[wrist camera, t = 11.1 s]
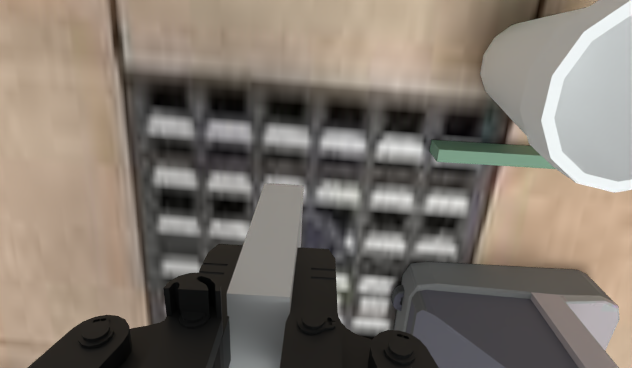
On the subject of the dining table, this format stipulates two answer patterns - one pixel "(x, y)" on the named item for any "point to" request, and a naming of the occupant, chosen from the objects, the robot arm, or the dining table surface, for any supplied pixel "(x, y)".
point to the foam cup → (570, 89)
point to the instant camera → (506, 316)
